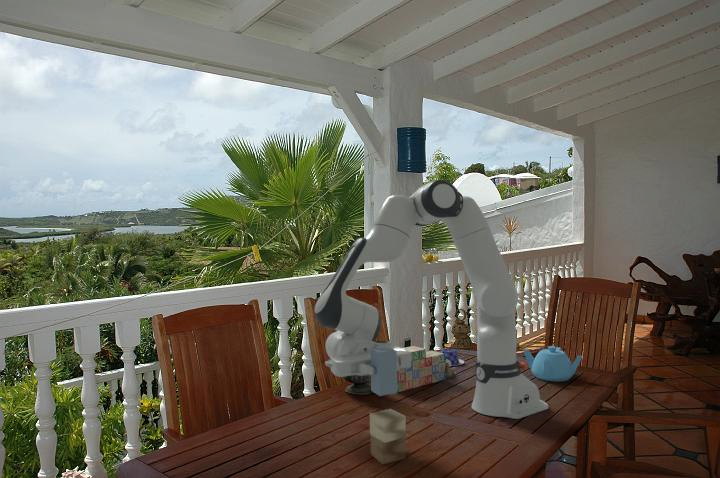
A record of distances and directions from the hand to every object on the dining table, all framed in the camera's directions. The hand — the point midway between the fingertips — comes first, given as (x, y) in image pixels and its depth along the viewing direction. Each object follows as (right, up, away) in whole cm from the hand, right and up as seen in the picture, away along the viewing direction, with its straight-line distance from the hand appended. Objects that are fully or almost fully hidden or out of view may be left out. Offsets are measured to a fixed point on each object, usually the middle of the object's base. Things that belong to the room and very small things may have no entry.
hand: (385, 369), depth 129 cm
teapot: (+62, -18, +66) cm, 92 cm away
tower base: (+1, -21, +1) cm, 21 cm away
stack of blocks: (+13, -19, +59) cm, 63 cm away
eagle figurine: (+24, -19, +69) cm, 75 cm away
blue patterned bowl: (+29, -18, +87) cm, 93 cm away
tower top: (+1, -16, +1) cm, 16 cm away
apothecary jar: (-6, -19, +52) cm, 56 cm away
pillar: (0, -5, +1) cm, 6 cm away
